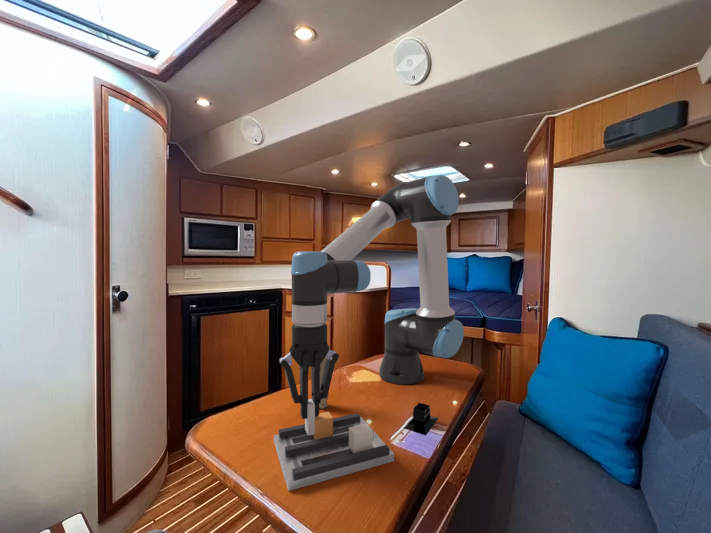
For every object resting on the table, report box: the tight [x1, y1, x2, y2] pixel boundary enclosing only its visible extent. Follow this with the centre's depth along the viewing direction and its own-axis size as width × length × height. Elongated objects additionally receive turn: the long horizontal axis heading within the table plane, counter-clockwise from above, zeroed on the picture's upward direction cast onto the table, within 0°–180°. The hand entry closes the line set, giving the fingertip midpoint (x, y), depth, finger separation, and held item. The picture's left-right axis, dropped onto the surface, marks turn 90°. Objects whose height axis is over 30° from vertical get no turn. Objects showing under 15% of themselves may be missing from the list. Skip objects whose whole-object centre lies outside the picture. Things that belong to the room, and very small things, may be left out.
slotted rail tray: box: [278, 413, 391, 480], centre depth 66 cm, size 19×16×1 cm
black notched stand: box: [403, 402, 439, 436], centre depth 78 cm, size 12×7×5 cm, turn 147°
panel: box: [273, 416, 395, 492], centre depth 66 cm, size 21×16×2 cm
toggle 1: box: [313, 411, 334, 440], centre depth 70 cm, size 4×3×4 cm
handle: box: [319, 355, 329, 410], centre depth 86 cm, size 5×6×15 cm
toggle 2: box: [349, 422, 374, 453], centre depth 65 cm, size 4×3×4 cm
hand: (309, 431), depth 69 cm, fingers closed
